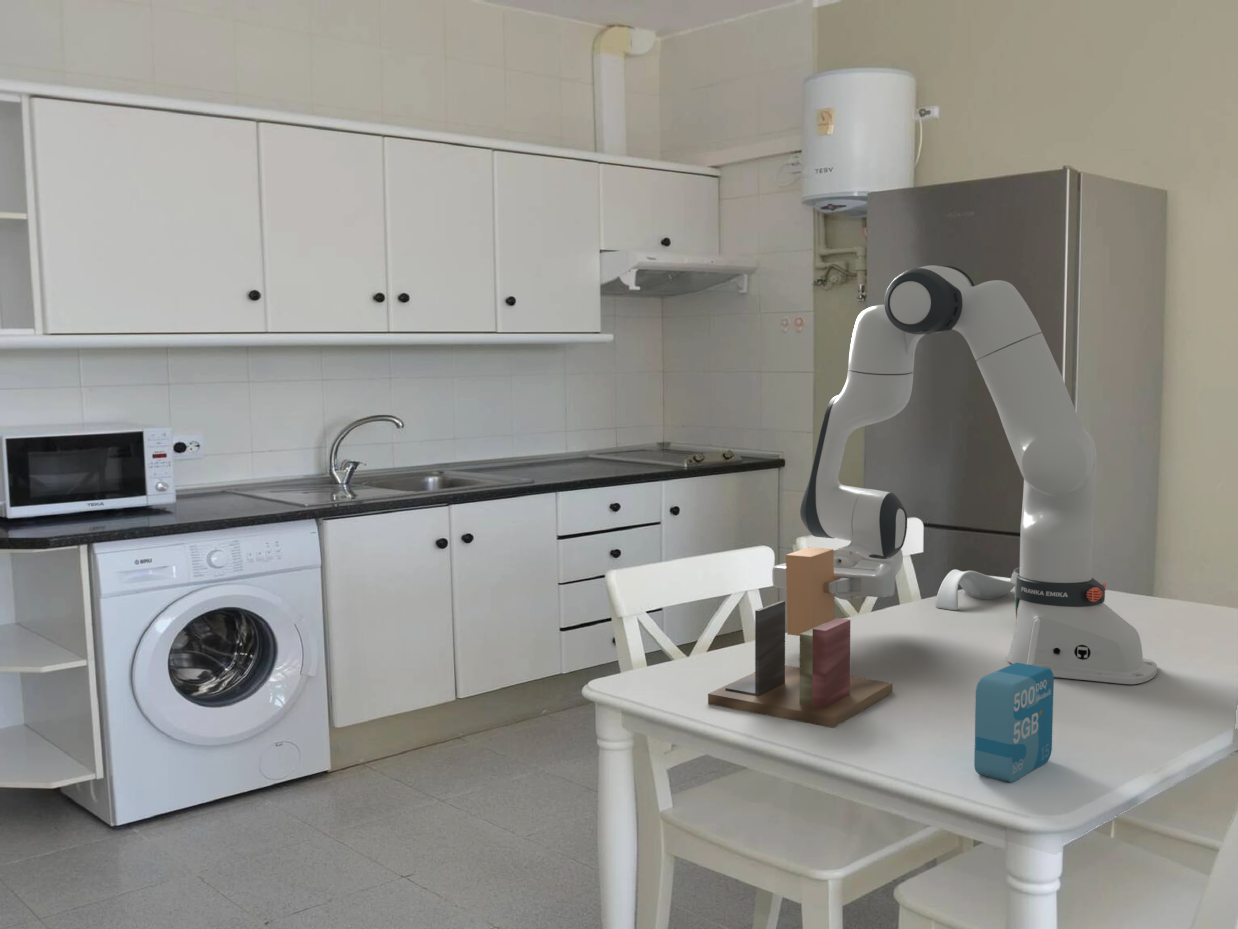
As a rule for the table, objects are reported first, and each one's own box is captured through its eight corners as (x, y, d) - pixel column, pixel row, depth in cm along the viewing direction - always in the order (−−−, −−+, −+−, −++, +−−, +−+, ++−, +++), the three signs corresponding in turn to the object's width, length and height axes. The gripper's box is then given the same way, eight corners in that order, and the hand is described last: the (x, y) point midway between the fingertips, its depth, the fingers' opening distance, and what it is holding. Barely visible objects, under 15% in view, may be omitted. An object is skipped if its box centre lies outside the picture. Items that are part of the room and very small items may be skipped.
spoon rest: (971, 588, 257) (972, 555, 256) (1025, 595, 249) (1025, 561, 248) (919, 607, 239) (919, 571, 238) (975, 615, 231) (976, 578, 231)
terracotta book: (834, 627, 198) (833, 549, 197) (812, 637, 192) (811, 556, 190) (810, 624, 201) (808, 547, 200) (787, 634, 194) (785, 554, 193)
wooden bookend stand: (892, 692, 180) (893, 600, 179) (833, 727, 164) (834, 626, 162) (773, 672, 192) (773, 586, 190) (708, 703, 175) (707, 609, 174)
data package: (1008, 786, 142) (1011, 686, 141) (973, 777, 145) (975, 679, 144) (1052, 760, 150) (1054, 666, 149) (1017, 752, 154) (1020, 659, 152)
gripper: (792, 550, 213) (754, 562, 201) (902, 559, 201) (868, 572, 189) (793, 585, 213) (755, 600, 202) (903, 596, 201) (868, 612, 190)
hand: (810, 586), depth 196 cm, fingers closed on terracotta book, 4 cm apart
